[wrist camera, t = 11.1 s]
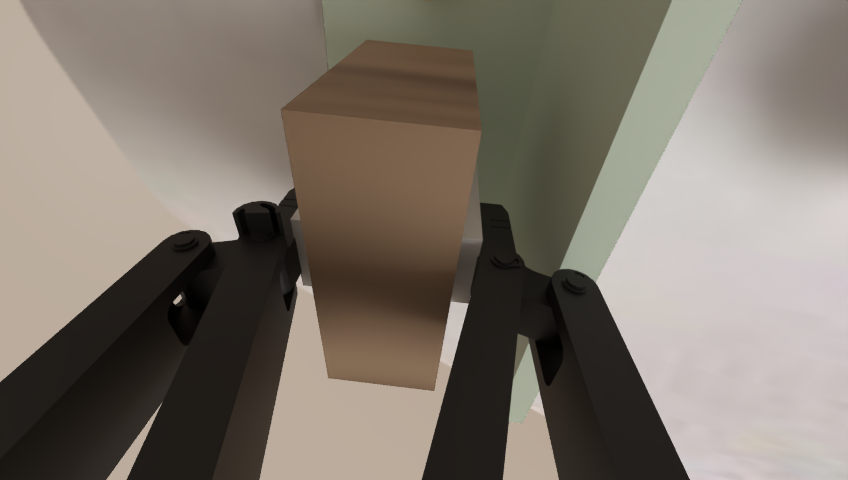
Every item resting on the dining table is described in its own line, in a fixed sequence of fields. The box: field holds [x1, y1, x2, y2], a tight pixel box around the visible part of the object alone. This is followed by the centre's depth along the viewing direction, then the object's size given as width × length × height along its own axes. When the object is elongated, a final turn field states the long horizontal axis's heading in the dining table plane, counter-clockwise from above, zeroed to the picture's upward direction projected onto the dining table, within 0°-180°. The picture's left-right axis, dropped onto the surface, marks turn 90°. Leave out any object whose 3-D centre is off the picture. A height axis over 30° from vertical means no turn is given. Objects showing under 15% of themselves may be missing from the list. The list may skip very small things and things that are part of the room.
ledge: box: [322, 0, 743, 423], centre depth 15 cm, size 18×11×11 cm, turn 176°
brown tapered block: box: [281, 40, 482, 391], centre depth 13 cm, size 10×4×8 cm, turn 175°
